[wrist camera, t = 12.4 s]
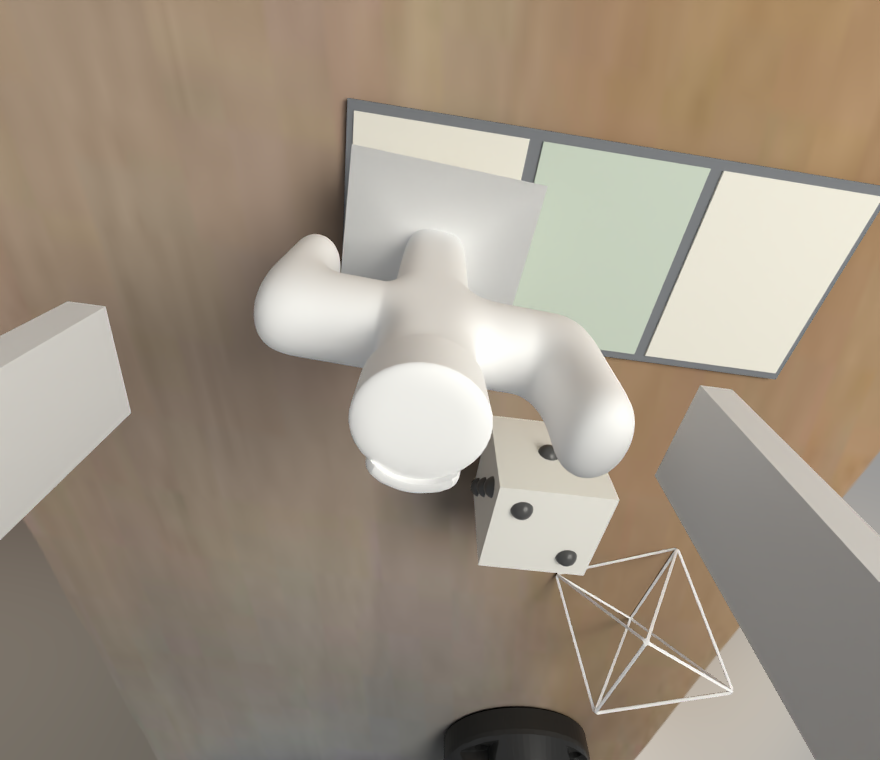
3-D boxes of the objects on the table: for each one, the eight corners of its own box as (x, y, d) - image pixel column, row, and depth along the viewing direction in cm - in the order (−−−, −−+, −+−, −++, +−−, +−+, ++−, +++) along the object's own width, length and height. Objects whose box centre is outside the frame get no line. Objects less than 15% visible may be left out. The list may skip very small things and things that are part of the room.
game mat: (772, 376, 26) (776, 380, 25) (341, 318, 24) (339, 321, 24) (888, 186, 21) (895, 188, 20) (348, 98, 19) (346, 98, 19)
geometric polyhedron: (538, 606, 38) (557, 712, 31) (574, 532, 33) (606, 640, 26) (658, 620, 39) (701, 726, 32) (710, 550, 34) (773, 658, 27)
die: (561, 496, 31) (585, 582, 26) (466, 486, 31) (470, 571, 25) (590, 420, 28) (625, 500, 22) (484, 407, 27) (493, 486, 22)
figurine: (340, 130, 19) (135, 197, 7) (556, 177, 20) (743, 317, 7) (329, 291, 23) (183, 533, 10) (511, 325, 24) (585, 587, 11)
